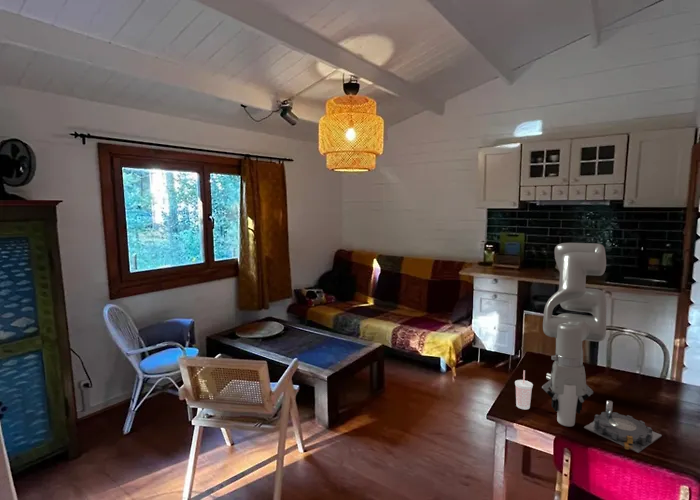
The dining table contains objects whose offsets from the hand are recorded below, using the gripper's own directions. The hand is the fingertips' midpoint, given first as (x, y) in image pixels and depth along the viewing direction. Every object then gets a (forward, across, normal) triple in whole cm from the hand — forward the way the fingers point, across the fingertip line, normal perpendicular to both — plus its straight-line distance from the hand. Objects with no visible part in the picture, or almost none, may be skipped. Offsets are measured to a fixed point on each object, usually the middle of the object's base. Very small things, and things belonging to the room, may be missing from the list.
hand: (566, 410), depth 134 cm
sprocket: (+5, +16, -2) cm, 17 cm away
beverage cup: (+5, -12, +9) cm, 16 cm away
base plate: (+5, +16, -2) cm, 17 cm away
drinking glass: (+5, 0, 0) cm, 5 cm away
